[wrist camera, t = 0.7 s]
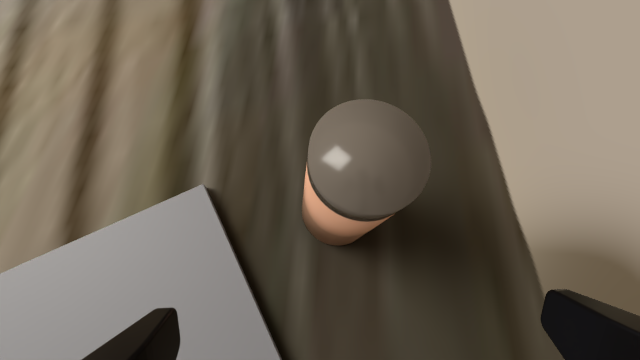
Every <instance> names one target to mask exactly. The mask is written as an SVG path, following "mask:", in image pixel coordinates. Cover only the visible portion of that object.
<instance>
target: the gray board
mask: <svg viewBox="0 0 640 360" xmlns="http://www.w3.org/2000/svg"><path fill="white" fill-rule="evenodd" d="M169 307H173V308H175V309H176V311H177V315H178V323H179V330H180V348H179V352H178V355H177V359H176V360H282V358H281V356H280V354H279V351H278V349H277V347H276V345H275V342H274V340H273V338H272V336H271V333H270V331H269V329H268V326H267V324H266V322H265V320H264V317H263V315H262V313H261V311H260V308H259V306H258V304H257V302H256V299H255V297H254V295H253V292H252V290H251V288H250V286H249V283H248V281H247V279H246V277H245V274H244V272H243V270H242V268H241V265H240V263H239V261H238V258H237V256H236V254H235V252H234V249H233V247H232V245H231V243H230V240H229V238H228V236H227V233H226V231H225V229H224V227H223V224H222V222H221V220H220V218H219V215H218V213H217V211H216V209H215V206H214V204H213V202H212V199H211V197H210V195H209V193H208V190H207V188H206V187H205V186H204V185H203V184H202V185H200V186H198V187H195V188H193V189H191V190H188V191H186V192H184V193H182V194H179V195H177V196H175V197H173V198H170V199H168V200H166V201H164V202H161V203H159V204H157V205H154V206H152V207H150V208H148V209H145V210H143V211H141V212H139V213H136V214H134V215H132V216H130V217H127V218H125V219H123V220H121V221H118V222H116V223H114V224H111V225H109V226H107V227H105V228H102V229H100V230H98V231H96V232H93V233H91V234H89V235H87V236H84V237H82V238H80V239H77V240H75V241H73V242H71V243H68V244H66V245H64V246H62V247H59V248H57V249H55V250H53V251H50V252H48V253H46V254H44V255H41V256H39V257H37V258H34V259H32V260H30V261H28V262H25V263H23V264H21V265H19V266H16V267H14V268H12V269H10V270H7V271H5V272H3V273H0V360H81V359H83V358H84V357H86V356H87V355H89V354H90V353H92V352H93V351H94V350H96V349H97V348H99V347H100V346H102V345H103V344H105V343H106V342H108V341H109V340H110V339H112V338H113V337H115V336H116V335H118V334H119V333H121V332H122V331H123V330H125V329H126V328H128V327H129V326H131V325H132V324H134V323H135V322H137V321H138V320H139V319H141V318H142V317H144V316H145V315H147V314H148V313H150V312H151V311H153V310H154V309H156V308H169Z"/></svg>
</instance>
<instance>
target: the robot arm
mask: <svg viewBox="0 0 640 360" xmlns="http://www.w3.org/2000/svg"><path fill="white" fill-rule="evenodd" d="M541 323H542V326H543V328H544V330H545V331H546V333H547V334H548V336H549V337H550V339H551V340H552V342H553V343H554V344H555V346H556V347H557V349H558V350H559V352H560V353H561V355H562V356H563V358H564V359H565V360H640V316H638V315H636V314H633V313H630V312H627V311H625V310H622V309H619V308H617V307H613V306H611V305H608V304H606V303H603V302H600V301H598V300H595V299H592V298H589V297H587V296H584V295H581V294H578V293H576V292H573V291H570V290H567V289H557V290H550V291H548V292H547V294H546V297H545V301H544V305H543V309H542V314H541ZM179 348H180V330H179V323H178V315H177V311H176V309H175V308H173V307H169V308H156V309H154V310H153V311H151V312H150V313H148V314H147V315H145V316H144V317H142V318H141V319H139V320H138V321H137V322H135V323H134V324H132V325H131V326H129V327H128V328H126V329H125V330H123V331H122V332H121V333H119V334H118V335H116V336H115V337H113V338H112V339H110V340H109V341H108V342H106V343H105V344H103V345H102V346H100V347H99V348H97V349H96V350H94V351H93V352H92V353H90V354H89V355H87V356H86V357H84V358H83V359H81V360H176V359H177V355H178V352H179Z"/></svg>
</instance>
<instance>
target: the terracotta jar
mask: <svg viewBox="0 0 640 360" xmlns="http://www.w3.org/2000/svg"><path fill="white" fill-rule="evenodd" d="M430 170H431V153H430V148H429V145H428V142H427V139H426V137H425V135H424V133H423V132H422V130H421V129H420V127H419V126H418V125H417V123H416V122H415V121H414V120H413V119H412V118H411V117H410V116H409V115H407V114H406V113H405V112H403V111H402V110H400V109H399V108H397V107H395V106H393V105H390V104H388V103H385V102H382V101H377V100H369V99H360V100H352V101H348V102H345V103H342V104H340V105H338V106H336V107H334V108H332V109H331V110H330V111H328V112H327V113H326V114H325V115H324V116H323V117H322V118H321V119H320V120H319V122H318V123H317V124H316V126H315V128H314V130H313V132H312V135H311V138H310V142H309V149H308V158H307V167H306V176H305V185H304V193H303V202H302V217H303V221H304V223H305V226H306V228H307V229H308V231H309V232H310V233H311V234H312V235H313V236H314V237H315V238H316V239H318V240H319V241H321V242H323V243H326V244H329V245H335V246H340V245H346V244H349V243H352V242H354V241H356V240H357V239H359V238H360V237H362V236H363V235H365V234H366V233H367V232H369V231H370V230H372V229H373V228H375V227H376V226H378V225H379V224H381V223H382V222H384V221H385V220H387V219H388V218H389V217H391V216H392V215H394V214H395V213H397V212H398V211H400V210H401V209H403V208H404V207H406V206H407V205H408V204H410V203H411V202H412V201H414V200H415V199H416V198H417V197H418V196H419V194H420V193H421V192H422V190H423V189H424V187H425V185H426V183H427V181H428V178H429V175H430Z"/></svg>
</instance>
